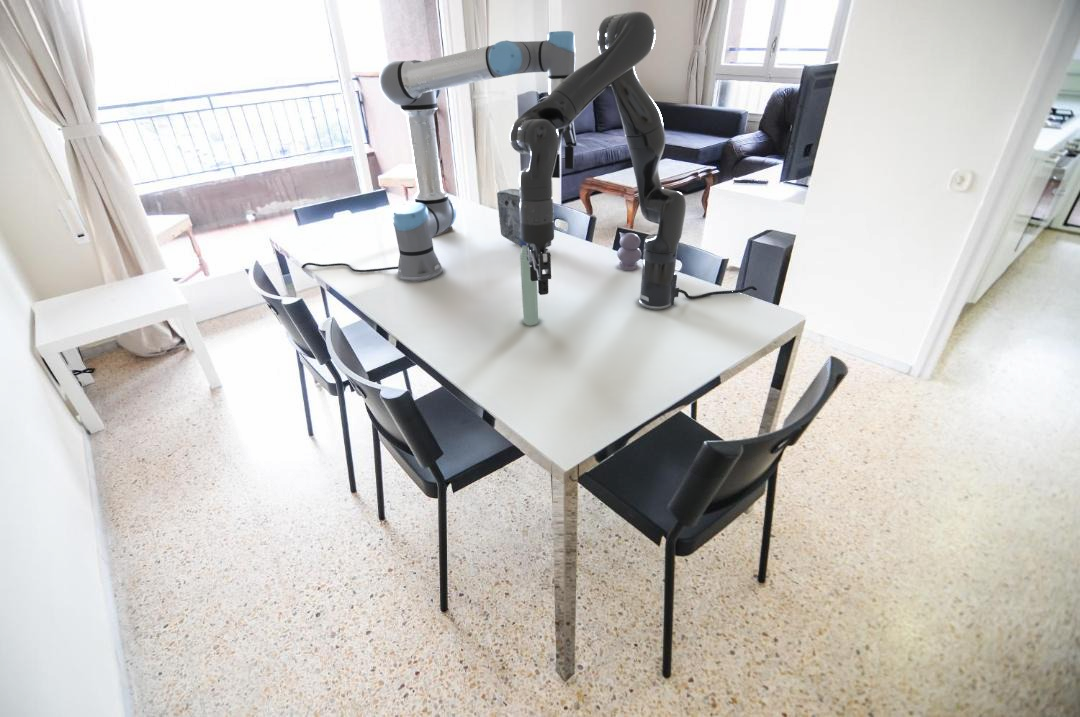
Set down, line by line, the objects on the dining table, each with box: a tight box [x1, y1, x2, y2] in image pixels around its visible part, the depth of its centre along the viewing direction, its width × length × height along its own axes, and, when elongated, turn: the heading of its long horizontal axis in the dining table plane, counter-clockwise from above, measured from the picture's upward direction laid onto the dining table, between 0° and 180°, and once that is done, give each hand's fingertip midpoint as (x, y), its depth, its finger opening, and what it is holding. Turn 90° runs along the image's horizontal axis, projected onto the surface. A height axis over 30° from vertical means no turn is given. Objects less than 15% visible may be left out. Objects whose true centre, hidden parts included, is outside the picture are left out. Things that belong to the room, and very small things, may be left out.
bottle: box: [519, 245, 539, 326], centre depth 135 cm, size 4×4×25 cm
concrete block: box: [496, 188, 552, 249], centre depth 192 cm, size 27×9×20 cm, turn 36°
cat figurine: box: [616, 231, 642, 271], centre depth 171 cm, size 9×8×12 cm
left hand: (562, 173), depth 154 cm, fingers open, 13 cm apart
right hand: (539, 287), depth 117 cm, fingers open, 8 cm apart
